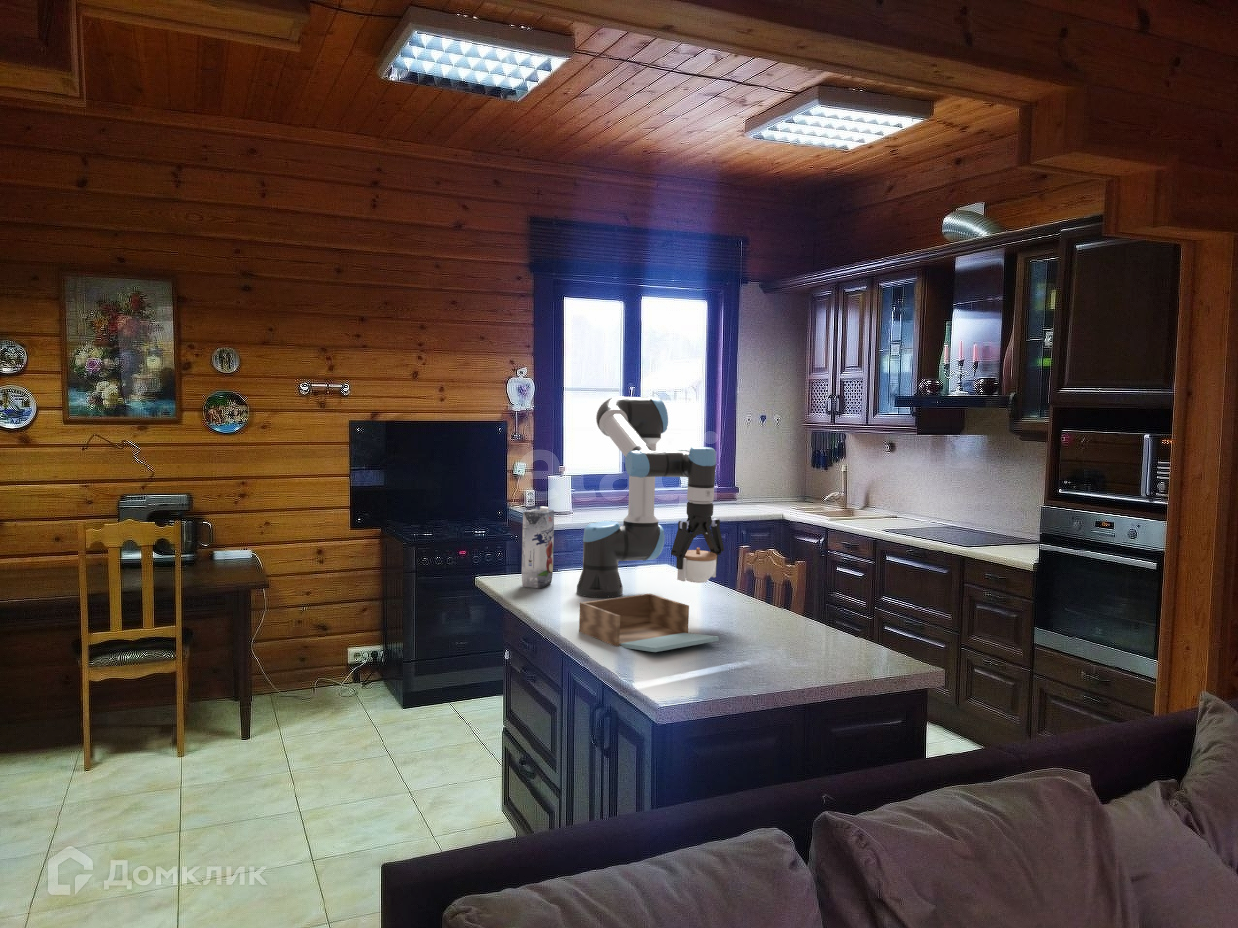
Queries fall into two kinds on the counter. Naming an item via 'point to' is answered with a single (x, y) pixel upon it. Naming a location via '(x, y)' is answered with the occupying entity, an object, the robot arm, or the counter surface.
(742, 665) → the counter surface
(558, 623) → the counter surface
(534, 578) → the juice carton
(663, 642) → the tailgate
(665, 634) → the open wooden tray
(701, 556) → the lidded jar
